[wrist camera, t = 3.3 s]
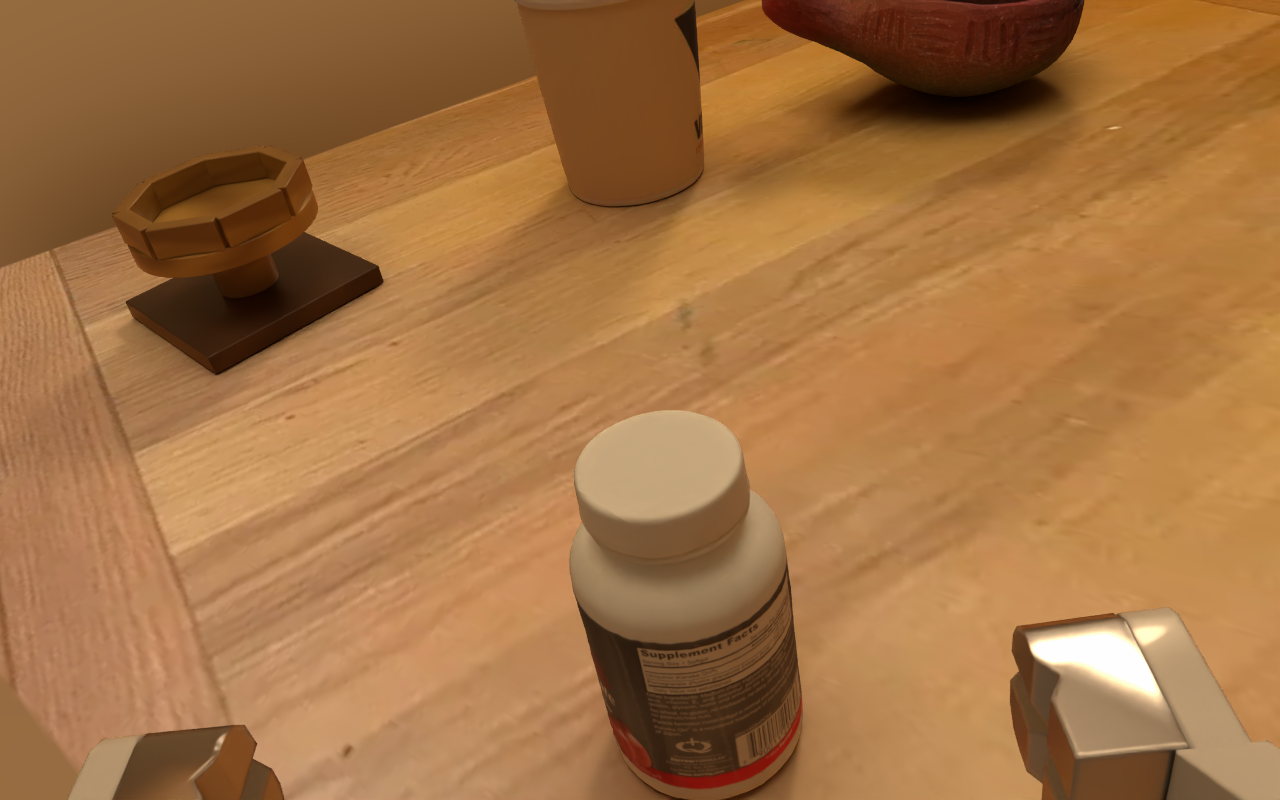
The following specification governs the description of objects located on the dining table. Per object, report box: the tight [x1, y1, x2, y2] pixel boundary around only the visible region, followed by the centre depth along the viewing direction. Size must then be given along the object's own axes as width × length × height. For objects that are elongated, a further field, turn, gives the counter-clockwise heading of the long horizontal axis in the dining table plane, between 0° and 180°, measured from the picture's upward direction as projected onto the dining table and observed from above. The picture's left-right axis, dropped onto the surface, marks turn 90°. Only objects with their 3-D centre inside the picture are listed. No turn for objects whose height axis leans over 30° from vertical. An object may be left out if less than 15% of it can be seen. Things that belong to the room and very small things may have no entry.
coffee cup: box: [514, 0, 704, 206], centre depth 58 cm, size 9×9×12 cm
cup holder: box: [112, 145, 383, 374], centre depth 54 cm, size 10×10×6 cm
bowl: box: [762, 0, 1084, 97], centre depth 61 cm, size 16×13×8 cm
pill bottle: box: [569, 410, 803, 800], centre depth 28 cm, size 5×5×10 cm
